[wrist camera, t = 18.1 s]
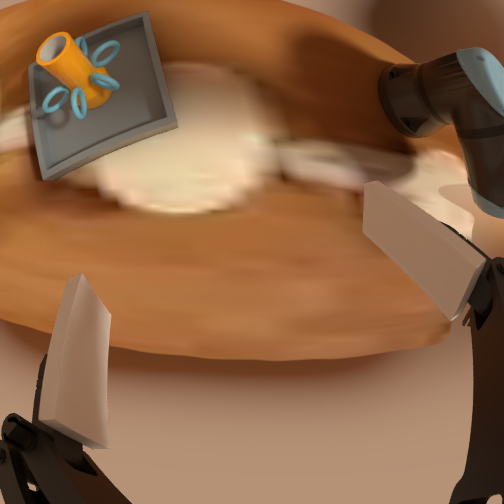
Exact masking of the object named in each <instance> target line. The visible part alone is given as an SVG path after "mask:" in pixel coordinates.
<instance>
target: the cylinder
mask: <svg viewBox="0 0 504 504" xmlns="http://www.w3.org/2000/svg"><path fill="white" fill-rule="evenodd" d="M80 44H81V47H82V51H81V49H80V48H79V46H80ZM110 46H114V49H113V51H112V53H111V54H110V55H109V56H108V57H107V58H106V59H104V60H103V61H100V62H97V61H96V59H97V57H98V55H99V54H100V53H101V52H102V51H103V50H104V49H106V48H107V47H110ZM119 49H120V44H119V42H117V41H114V40H112V41H108V42H106V43H104V44H102V45H101V46H99V47H98V48H97V49H96V50H95V52H94V53H93V54H92V56H91V59H90V61H89V60H88V49H87V44H86V41H85V39H84V38H83V37H78V38H76V40H75V42H74V40H73V39H72V38H71V36H70V35H69V34H68V33H67V32H58V33H55V34H53V35H51V36H50V37H48V38H47V39H46V40H45V41H44V42H43V43H42V44H41V46H40V47H39V49H38V51H37V55H36V61H37V63H38V64H39V65H40V66H42V67H43V68H44V69H45V70H47V71H48V72H49V73H50V74H52V75H53V76H54V77H55V78H57V79H58V80H59V81H60V82H61V83H63V84H64V85H61V86H58V87H56V88H55V89H53V90H52V91H51V92H50V93H49V94H48V95H47V96H46V98H45V99H44V101H43V104H42V109H43V111H44V112H45V113H52V112H54V111H56V110H58V109H59V108H60V107H61V106H63V104H64V103H65V102H66V101H67V99H68V98H69V99H70V100H71V107H72V111H73V114H74V116H75V117H76V118H77V119H78V120H82V119H84V117H85V116H86V112H87V109H88V110H89V109H95V108H97V107H99V106H101V105H103V104H104V103H105V102H106V101H107V100H108V99H109V97H110V95H111V93H112V91H116V90H118V89H119V87H120V85H119V83H118V82H117V81H116V80H114V79H113V78H111V77H110V75H109V74H108V72H107V71H106V69H105V68H104V67H103V66H104V65H106V64H107V63H109V62H110V61H111V60H112V59H113V58H114V57H115V56H116V55H117V53H118V51H119ZM61 91H64V92H65V94H64V96H63V98H62V99H61V100H60V101H59V102H58V103H57V104H56V105H54V106H52V107H48V103H49V101H50V100H51V98H52V97H53V96H54V95H56V94H57V93H59V92H61ZM78 106H80V107H81V113H80V111H79V108H78Z"/></svg>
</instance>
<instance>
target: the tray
mask: <svg viewBox="0 0 504 504" xmlns="http://www.w3.org/2000/svg"><path fill="white" fill-rule="evenodd" d="M80 37H83V38H84V39H85V41H86V44H87V49H88V60H89V61H90V59H91V56H92V54H93V53H94V52H95V50H96V49H97V48H98V47H99V46H101V45H102V44H104V43H106V42H108V41H112V40H114V41H117V42H119V44H120V49H119V51H118V53H117V55H116V56H115V57H114V58H113V59H112V60H111V61H110V62H109V63H107V64H106V65H104V66H103V67H104V68H105V69H106V71H107V72H108V74H109V75H110V77H111V78H113V79H114V80H116V81H117V82H118V83H119V85H120V87H119V89H118V90H116V91H112V93H111V95H110V97H109V99H108V100H107V101H106V102H105V103H104V104H103V105H101V106H99V107H97V108H95V109H89V110H88V109H87V112H86V116H85V117H84V119H82V120H78V119H77V118H76V117H75V116H74V114H73V111H72V107H71V100H70V99H69V98H68V99H67V101H66V102H65V103H64V104H63V106H61V107H60V108H59V109H58V110H56V111H54V112H52V113H45V112H44V111H43V109H42V104H43V101H44V99H45V98H46V96H47V95H48V94H49V93H50V92H51V91H52V90H53V89H55V88H56V87H58V86H61V85H64V84H63V83H61V82H60V81H59V80H58V79H57V78H55V77H54V76H53V75H52V74H50V73H49V72H48V71H47V70H45V69H44V68H43V67H42V66H40V65H39V64H38V63H37V61H35V62H33V63H32V64H30V65H29V66H28V78H29V96H30V108H31V117H32V125H33V132H34V139H35V145H36V150H37V156H38V161H39V165H40V170H41V174H42V179H43V180H53V181H54V180H56V179H58V178H59V177H61V176H63V175H65V174H67V173H69V172H71V171H73V170H75V169H77V168H79V167H81V166H83V165H85V164H87V163H89V162H91V161H93V160H96V159H98V158H100V157H102V156H104V155H107V154H109V153H111V152H114V151H116V150H118V149H121V148H123V147H126V146H128V145H131V144H133V143H136V142H138V141H141V140H144V139H146V138H149V137H152V136H154V135H157V134H160V133H163V132H166V131H169V130H172V129H175V128H178V124H177V119H176V116H175V112H174V109H173V105H172V102H171V98H170V95H169V91H168V87H167V84H166V80H165V76H164V73H163V69H162V65H161V61H160V57H159V54H158V50H157V46H156V42H155V38H154V34H153V30H152V26H151V21H150V17H149V13H148V11H144V12H141V13H138V14H135V15H132V16H129V17H126V18H123V19H120V20H118V21H115V22H112V23H110V24H107V25H105V26H102V27H100V28H98V29H95V30H93V31H91V32H88V33H86V34H84V35H82V36H80ZM75 40H76V39H74V42H75ZM79 48H80V49H81V51H82V47H81V44H80V46H79ZM113 49H114V46H110V47H107V48H106V49H104V50H103V51H102V52H101V53H100V54H99V55H98V57H97V59H96V61H97V62H100V61H103V60H104V59H106V58H107V57H108V56H109V55H110V54H111V53H112V51H113ZM64 94H65V92H64V91H61V92H59V93H57V94H56V95H54V96H53V97H52V98H51V100H50V101H49V103H48V107H52V106H54V105H56V104H57V103H58V102H59V101H60V100H61V99H62V98H63V96H64ZM78 108H79V111H80V113H81V107H80V106H78Z"/></svg>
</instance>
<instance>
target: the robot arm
mask: <svg viewBox="0 0 504 504" xmlns="http://www.w3.org/2000/svg"><path fill="white" fill-rule="evenodd" d="M379 95H380V99H381V103H382V106H383V108H384V110H385V112H386V114H387V116H388V118H389V119H390V121H391V122H392V123H393V125H394V126H395V127H396V128H397V129H398V130H399V131H400V132H402V133H403V134H405V135H406V136H408V137H411V138H422V137H427V136H430V135H431V134H433V133H434V132H436V131H438V130H439V129H441V128H442V127H444V126H445V125H450V124H454V126H455V129H456V132H457V136H458V139H459V143H460V146H461V150H462V154H463V157H464V161H465V166H466V170H467V174H468V183H469V185H470V187H471V191H472V196H473V199H474V202H475V203H476V204H477V206H478V207H479V208H480V209H481V210H482V211H483V212H485V213H487V214H488V215H491V216H493V217H496V218H501V219H504V68H503V67H502V66H501V64H500V63H499V62H498V61H497V59H496V58H495V57H494V56H493V55H492V54H491V53H490V52H488V51H487V50H485V49H483V48H479V47H476V48H470V49H465V50H463V49H460V50H458V51H457V52H455V53H452V54H449V55H446V56H443V57H440V58H437V59H434V60H431V61H428V62H426V63H423V64H395V65H393V66H390V67H388V68H386V69H385V70H384V71H383V72H382V74H381V76H380V79H379ZM362 232H363V233H364V234H365V235H366V236H367V237H368V238H369V239H370V240H372V241H373V242H374V243H375V244H376V245H377V246H378V247H379V248H380V249H381V250H382V251H383V252H384V253H385V254H387V255H388V256H389V257H390V258H391V259H392V260H393V261H394V262H395V263H396V264H397V265H398V266H399V267H400V268H401V269H402V270H403V271H404V272H405V273H406V274H407V275H408V276H409V277H410V278H411V279H412V280H413V281H414V282H415V283H416V284H417V285H418V286H419V287H420V288H421V289H422V290H423V291H424V292H425V294H426V295H427V296H428V297H429V298H430V299H431V300H432V301H433V302H434V303H435V304H436V305H437V306H438V308H439V309H440V310H441V311H442V312H443V313H444V314H445V315H446V316H447V318H448V319H449V320H450V321H452V320H453V319H454V318H456V317H457V316H458V315H460V314H461V313H462V312H463V310H464V308H465V306H466V304H467V302H468V303H469V304H470V305H471V307H470V309H469V311H468V313H467V315H466V316H465V318H464V320H463V323H462V325H463V326H465V324H466V322H467V321H468V319H469V318H470V321H469V323H468V326H471V335H472V349H473V373H474V374H473V376H474V385H473V386H474V387H473V413H472V425H471V434H470V442H469V449H468V455H467V462H466V466H465V471H464V474H463V476H462V478H461V479H460V480H459V482H458V483H457V484H456V486H455V488H454V490H453V492H452V496H451V499H450V502H449V504H486V503H487V501H488V499H489V498H490V497H491V496H493V495H497V494H500V495H501V496H502V499H503V500H502V504H504V258H501V257H496V258H494V259H493V260H492V259H490V258H489V257H488V256H487V255H486V254H485V253H483V252H482V251H481V250H480V249H479V248H477V247H476V246H475V245H474V244H473V243H471V242H470V241H469V240H468V239H467V240H466V238H465V237H464V236H463V235H461V234H459V232H457V231H456V230H455V229H454V228H452V227H451V226H449V225H447V224H445V223H443V222H440V221H438V220H436V219H435V218H434V217H432V216H431V215H430V214H428V213H427V212H425V211H424V210H422V209H421V208H419V207H418V206H417V205H415V204H414V203H412V202H411V201H409V200H408V199H406V198H405V197H403V196H401V195H400V194H398V193H397V192H395V191H394V190H392V189H390V188H389V187H387V186H386V185H384V184H382V183H381V182H379V181H377V180H376V181H372V182H368V183H365V184H364V214H363V231H362ZM110 323H111V314H110V313H109V311H108V310H107V309H106V307H105V306H104V305H103V303H102V302H101V300H100V299H99V297H98V296H97V295H96V293H95V292H94V290H93V289H92V287H91V286H90V284H89V283H88V281H87V280H86V278H85V277H84V275H83V274H82V273H80V274H78V275H75V276H72V277H70V278H69V279H68V282H67V285H66V288H65V291H64V294H63V298H62V301H61V304H60V307H59V311H58V314H57V318H56V322H55V326H54V329H53V334H52V338H51V342H50V346H49V351H48V354H45V356H44V358H43V360H42V362H41V365H40V368H39V373H38V380H37V385H36V387H37V389H36V393H35V399H34V408H33V418H32V423H30V422H28V421H27V420H25V419H24V418H22V417H21V416H19V415H18V414H15V413H11V414H9V415H8V416H7V417H6V418H5V420H4V422H3V425H2V431H1V432H2V434H1V436H2V440H0V489H1V492H2V495H3V498H4V501H5V504H132V503H131V502H130V501H129V500H128V499H127V498H126V497H125V496H124V495H123V494H122V493H121V492H120V491H119V490H118V489H117V488H116V487H115V486H114V485H113V484H112V482H111V481H110V480H109V479H108V478H107V477H106V476H105V475H104V473H103V472H102V471H101V470H100V469H99V468H98V466H97V465H96V464H95V463H94V461H93V460H92V459H91V458H90V456H89V455H88V454H86V452H84V451H83V445H85V446H87V447H89V448H91V449H109V441H108V423H107V366H108V348H109V334H110ZM27 483H30V484H33V485H35V486H36V491H33V490H30V489H29V487H28V484H27Z"/></svg>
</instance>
